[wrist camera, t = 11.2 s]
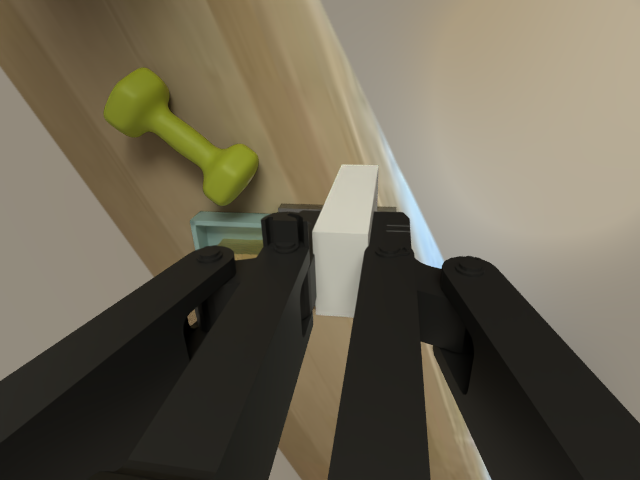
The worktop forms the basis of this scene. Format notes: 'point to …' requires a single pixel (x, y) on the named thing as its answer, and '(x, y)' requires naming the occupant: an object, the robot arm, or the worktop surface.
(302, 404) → the worktop surface
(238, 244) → the wooden block
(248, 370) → the robot arm
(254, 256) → the wooden cube
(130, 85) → the dumbbell
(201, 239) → the tray
